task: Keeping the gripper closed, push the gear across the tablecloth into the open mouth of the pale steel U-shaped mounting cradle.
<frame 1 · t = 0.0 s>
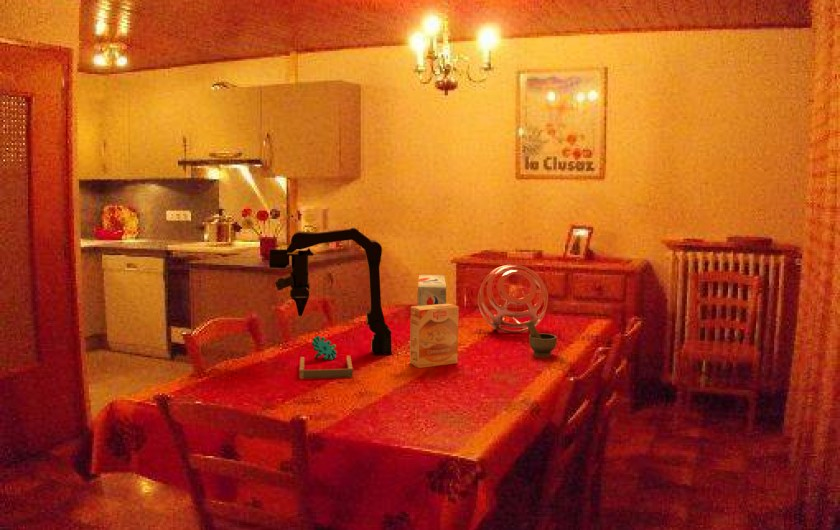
hand: (300, 313, 258), 15 cm above the table, fingers open, 9 cm apart
spiral basket: (511, 331, 301), on the table
gear: (325, 359, 255), on the table
soda pack: (431, 309, 346), on the table
mortar and pestle: (540, 355, 262), on the table
coffeecake box: (433, 363, 250), on the table
mount cradle: (325, 370, 240), on the table
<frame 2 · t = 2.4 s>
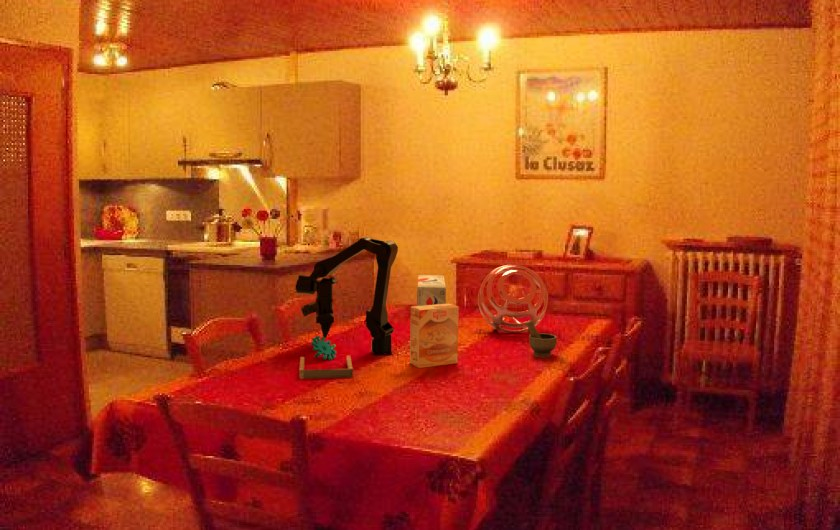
hand: (324, 337, 270), 4 cm above the table, fingers closed
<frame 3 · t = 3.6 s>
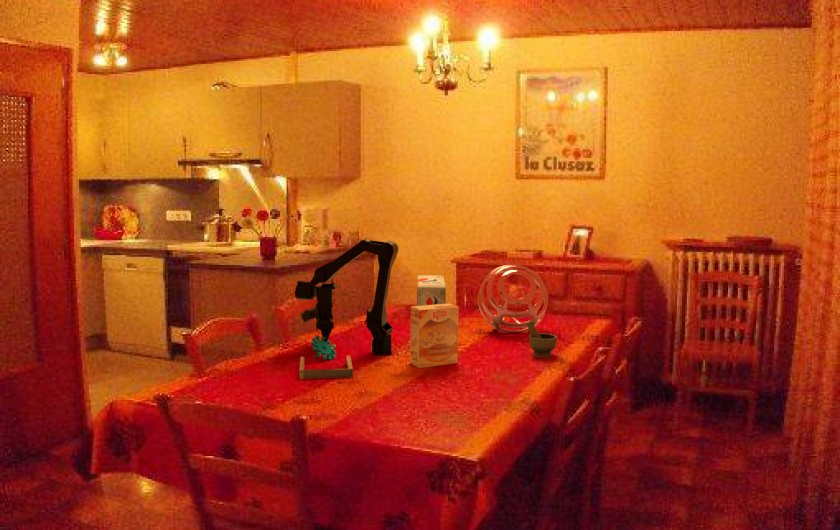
hand: (324, 343, 268), 2 cm above the table, fingers closed
nothing on the table moved.
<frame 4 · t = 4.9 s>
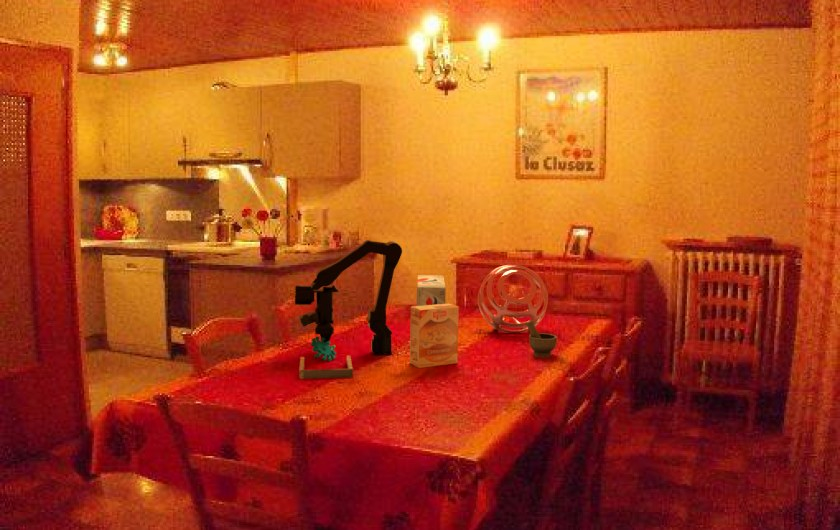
hand: (324, 348, 260), 2 cm above the table, fingers closed
gear: (324, 359, 254), on the table, touching gripper
everything else where it was.
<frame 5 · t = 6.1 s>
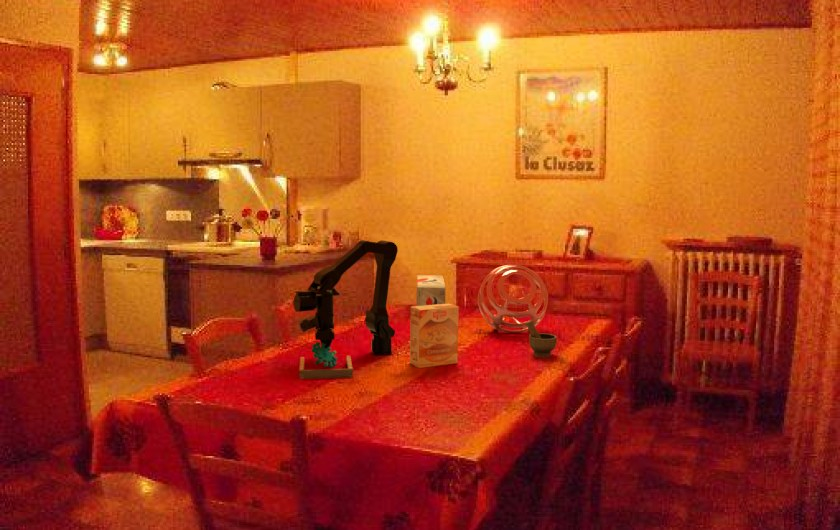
hand: (325, 354, 252), 2 cm above the table, fingers closed
gear: (325, 366, 246), on the table, touching gripper
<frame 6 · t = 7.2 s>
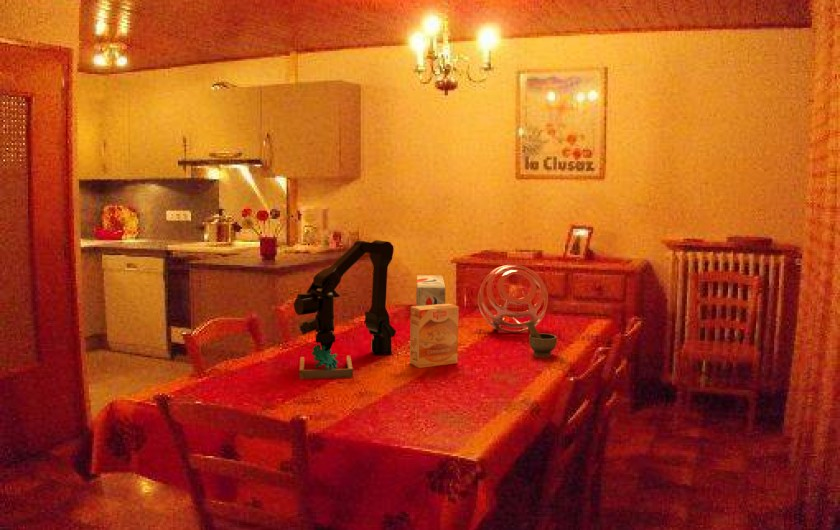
hand: (325, 357, 248), 2 cm above the table, fingers closed
gear: (326, 369, 242), on the table, touching gripper
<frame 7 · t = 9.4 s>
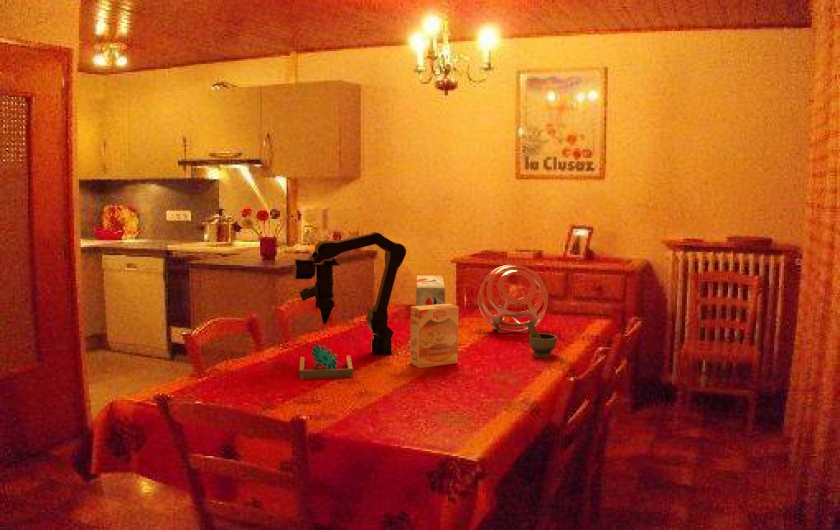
hand: (324, 323, 255), 12 cm above the table, fingers closed
gear: (325, 369, 242), on the table
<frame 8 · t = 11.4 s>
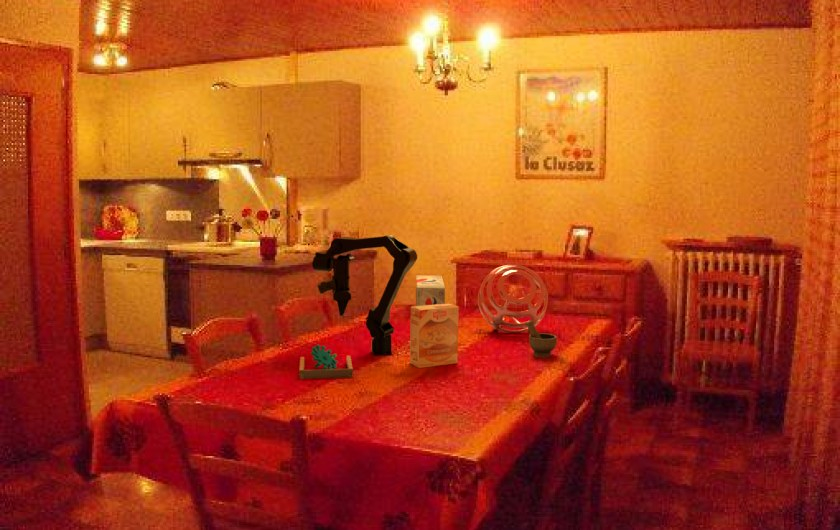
hand: (341, 315, 268), 12 cm above the table, fingers closed
at the end: gear inside the target area on the mount cradle (2.3 cm from its centre), point 0.0 cm above the mount cradle's base; gear moved 13.0 cm from its start; the gripper is holding nothing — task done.
